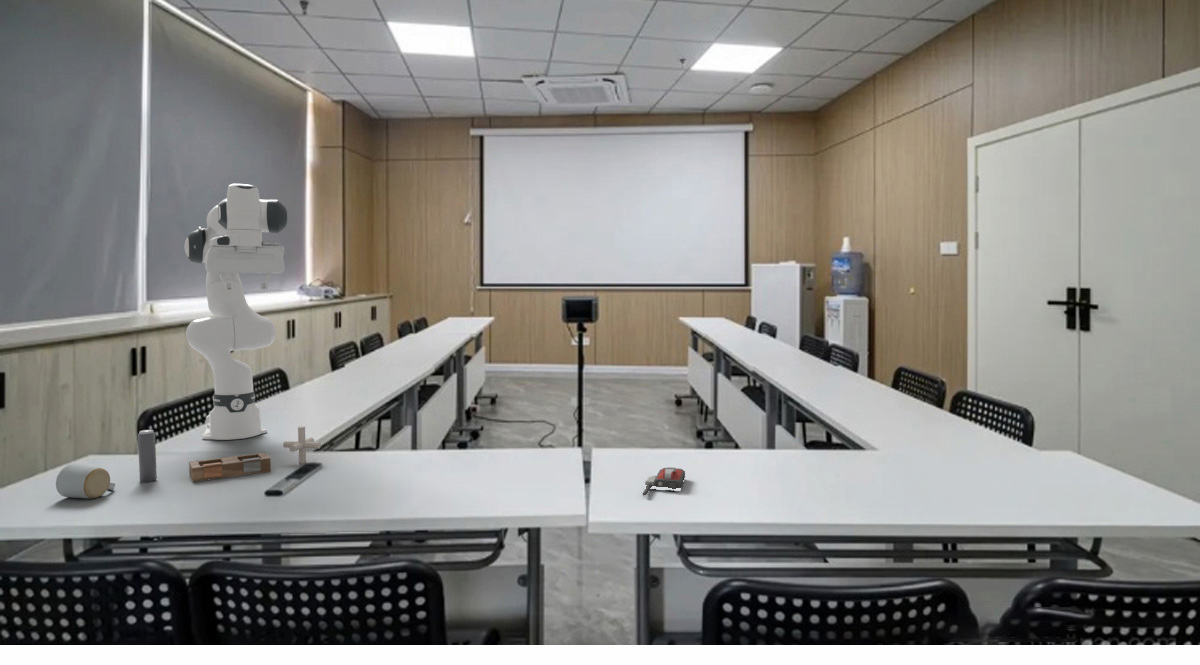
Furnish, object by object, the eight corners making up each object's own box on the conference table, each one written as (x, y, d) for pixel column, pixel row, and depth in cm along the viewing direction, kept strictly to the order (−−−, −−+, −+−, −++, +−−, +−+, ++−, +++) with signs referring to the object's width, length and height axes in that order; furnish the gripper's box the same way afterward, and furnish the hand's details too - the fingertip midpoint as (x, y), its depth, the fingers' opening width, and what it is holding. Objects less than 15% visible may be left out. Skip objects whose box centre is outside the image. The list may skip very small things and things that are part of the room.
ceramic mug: (86, 503, 159) (85, 469, 159) (55, 501, 160) (54, 467, 160) (125, 490, 170) (124, 458, 169) (95, 488, 171) (94, 457, 170)
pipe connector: (328, 458, 200) (327, 423, 199) (310, 467, 190) (309, 431, 189) (294, 457, 201) (293, 423, 200) (275, 466, 191) (274, 430, 190)
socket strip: (189, 475, 183) (189, 460, 182) (265, 464, 193) (264, 451, 193) (192, 482, 176) (192, 467, 175) (271, 471, 186) (270, 457, 186)
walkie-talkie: (652, 477, 183) (639, 500, 163) (652, 460, 183) (639, 481, 163) (686, 479, 181) (677, 502, 161) (686, 462, 181) (677, 483, 161)
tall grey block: (139, 480, 178) (137, 430, 177) (156, 477, 180) (154, 429, 179) (140, 483, 175) (138, 433, 174) (157, 481, 177) (155, 431, 176)
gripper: (281, 242, 209) (283, 289, 210) (203, 240, 197) (205, 289, 198) (286, 241, 204) (287, 289, 205) (206, 238, 192) (207, 289, 193)
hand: (246, 289), depth 202 cm, fingers open, 8 cm apart
